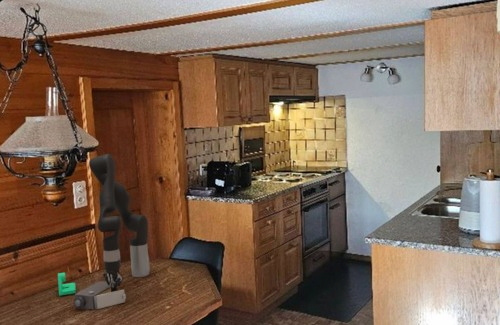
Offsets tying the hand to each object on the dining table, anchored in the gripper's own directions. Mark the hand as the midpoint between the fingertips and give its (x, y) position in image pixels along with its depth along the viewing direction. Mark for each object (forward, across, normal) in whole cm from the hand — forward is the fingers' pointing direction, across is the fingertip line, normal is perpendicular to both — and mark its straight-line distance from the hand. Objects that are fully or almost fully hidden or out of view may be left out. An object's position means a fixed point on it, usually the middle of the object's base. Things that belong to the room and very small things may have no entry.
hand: (114, 294), depth 232 cm
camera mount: (+4, -32, -5) cm, 33 cm away
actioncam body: (+4, -7, -6) cm, 10 cm away
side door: (+3, +3, -4) cm, 6 cm away
